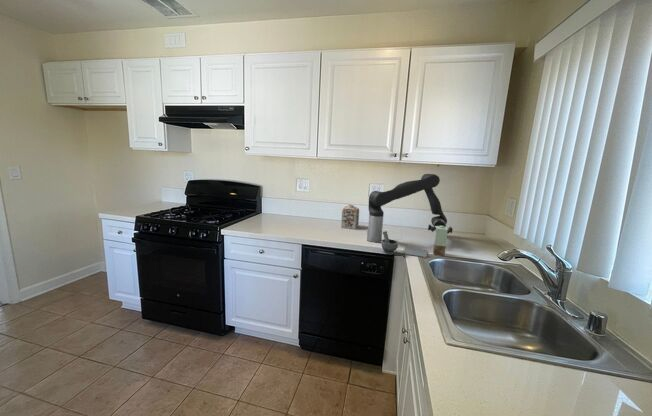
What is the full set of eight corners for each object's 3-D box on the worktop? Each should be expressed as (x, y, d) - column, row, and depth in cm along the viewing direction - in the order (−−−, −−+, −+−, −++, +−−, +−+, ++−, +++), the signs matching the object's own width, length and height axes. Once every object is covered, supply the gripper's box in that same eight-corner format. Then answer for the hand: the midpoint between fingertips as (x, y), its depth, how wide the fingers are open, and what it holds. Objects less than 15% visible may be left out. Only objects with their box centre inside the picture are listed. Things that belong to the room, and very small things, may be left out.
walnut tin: (433, 254, 159) (434, 241, 157) (433, 251, 164) (434, 238, 163) (444, 256, 157) (446, 243, 155) (444, 253, 162) (445, 240, 161)
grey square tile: (403, 254, 158) (403, 253, 158) (405, 247, 170) (405, 246, 169) (426, 258, 153) (426, 257, 153) (427, 251, 165) (427, 250, 165)
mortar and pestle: (400, 254, 157) (402, 234, 155) (388, 256, 153) (389, 236, 151) (388, 248, 167) (389, 229, 165) (375, 250, 163) (377, 231, 161)
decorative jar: (340, 227, 213) (341, 205, 209) (344, 224, 224) (345, 203, 220) (355, 229, 209) (357, 206, 206) (358, 226, 220) (360, 204, 217)
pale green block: (434, 245, 158) (436, 226, 156) (434, 242, 163) (436, 224, 161) (445, 246, 156) (447, 227, 154) (445, 243, 161) (447, 225, 159)
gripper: (429, 219, 184) (428, 224, 169) (451, 221, 179) (453, 226, 164) (427, 229, 186) (427, 235, 171) (450, 232, 181) (452, 238, 166)
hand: (440, 231), depth 168 cm, fingers open, 8 cm apart
